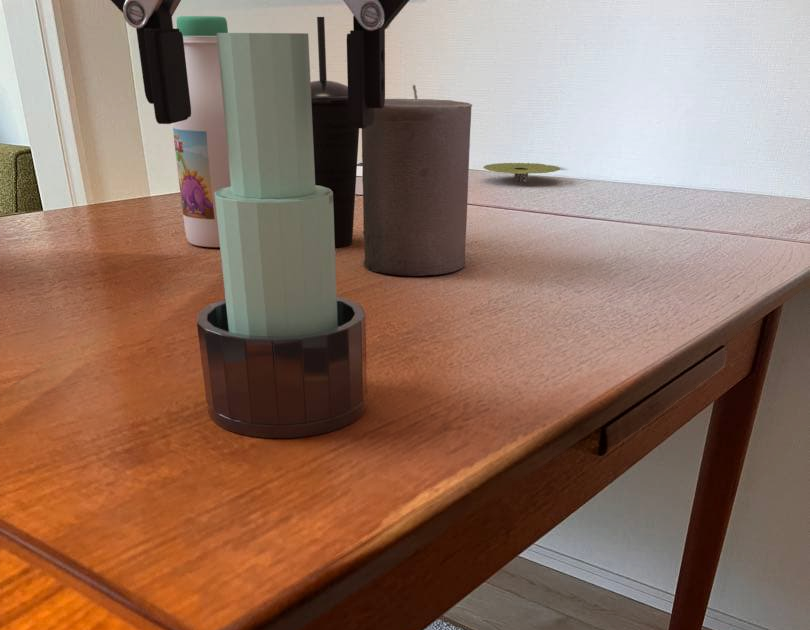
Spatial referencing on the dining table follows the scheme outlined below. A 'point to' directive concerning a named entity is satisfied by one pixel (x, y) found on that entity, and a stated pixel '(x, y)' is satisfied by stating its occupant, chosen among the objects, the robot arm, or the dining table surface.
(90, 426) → the dining table surface
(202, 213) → the milk bottle
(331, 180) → the drinking cup
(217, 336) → the holder
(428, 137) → the pillar candle
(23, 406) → the dining table surface
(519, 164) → the green disc on stem
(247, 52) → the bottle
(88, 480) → the dining table surface
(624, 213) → the dining table surface
